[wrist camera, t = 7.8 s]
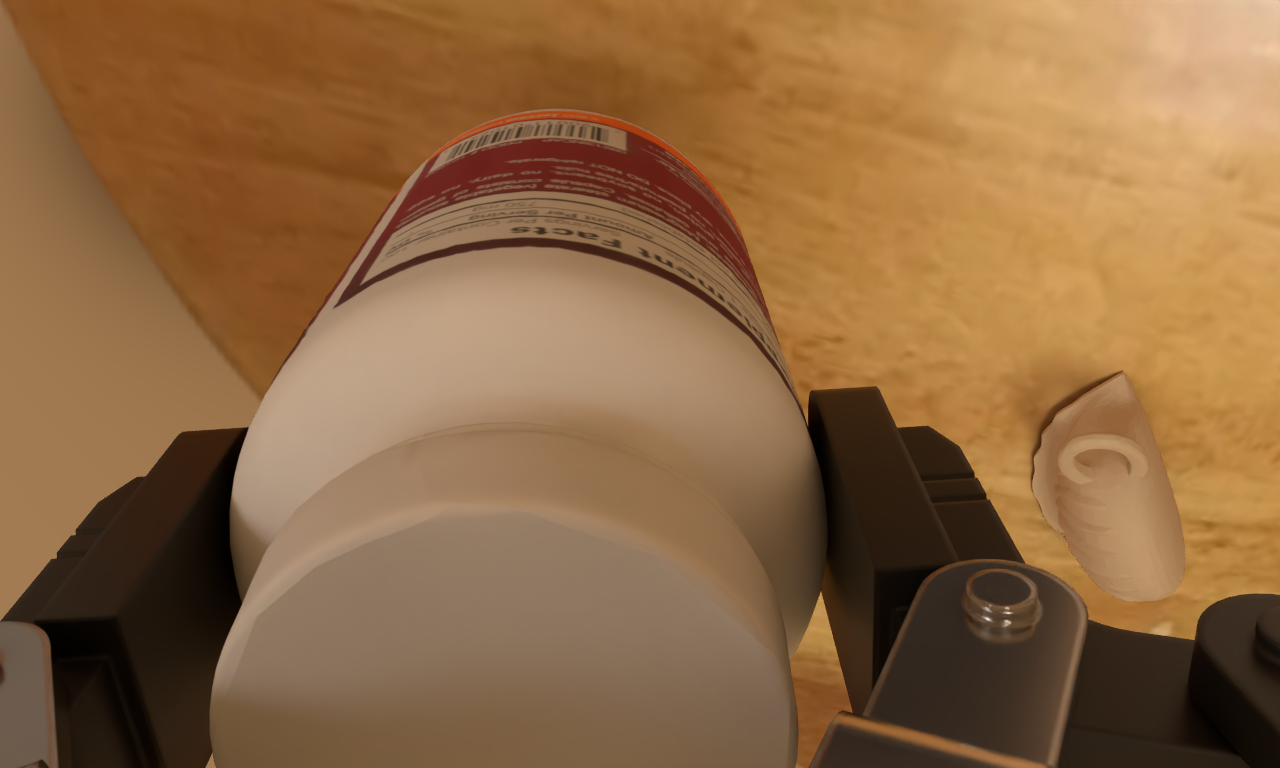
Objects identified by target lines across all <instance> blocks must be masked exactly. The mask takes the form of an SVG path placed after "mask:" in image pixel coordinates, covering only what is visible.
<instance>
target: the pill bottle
mask: <svg viewBox="0 0 1280 768" xmlns="http://www.w3.org/2000/svg"><path fill="white" fill-rule="evenodd" d="M827 546H828V522H827V510H826V498H825V492H824V486H823V480H822V474H821V469H820V466H819V463H818V460H817V456H816V453H815V450H814V447H813V443H812V439H811V434H810V431H809V428H808V426H807V423H806V419H805V416H804V413H803V410H802V407H801V405H800V402H799V400H798V397H797V394H796V391H795V388H794V385H793V381H792V378H791V376H790V373H789V369H788V365H787V363H786V361H785V358H784V356H783V353H782V351H781V348H780V345H779V342H778V339H777V336H776V333H775V330H774V328H773V325H772V322H771V319H770V315H769V312H768V309H767V307H766V304H765V301H764V297H763V295H762V292H761V289H760V286H759V283H758V280H757V277H756V275H755V272H754V269H753V265H752V263H751V260H750V257H749V254H748V251H747V248H746V245H745V242H744V239H743V236H742V234H741V231H740V229H739V227H738V225H737V223H736V221H735V219H734V217H733V215H732V213H731V211H730V209H729V208H728V206H727V205H726V204H725V202H724V200H723V199H722V197H721V196H720V194H719V192H718V191H717V190H716V188H715V187H714V186H713V185H712V183H711V182H710V181H709V179H708V178H707V177H706V176H705V175H704V174H703V173H702V172H701V170H700V169H699V168H698V167H697V166H696V165H695V164H694V163H693V162H692V161H691V160H689V159H688V158H687V157H686V156H685V155H684V154H683V153H681V152H680V151H679V150H677V149H676V148H675V147H673V146H672V145H671V144H669V143H668V142H667V141H665V140H663V139H662V138H660V137H658V136H657V135H655V134H653V133H651V132H650V131H648V130H646V129H643V128H641V127H639V126H637V125H634V124H632V123H629V122H627V121H624V120H621V119H618V118H615V117H611V116H607V115H603V114H600V113H594V112H589V111H583V110H574V109H541V110H531V111H526V112H520V113H515V114H511V115H506V116H502V117H499V118H496V119H493V120H490V121H487V122H485V123H483V124H481V125H479V126H476V127H474V128H472V129H470V130H468V131H466V132H464V133H463V134H461V135H459V136H458V137H456V138H454V139H453V140H451V141H449V142H448V143H447V144H445V145H444V146H443V147H441V148H440V149H439V150H438V151H436V152H435V153H434V154H433V155H432V156H431V157H429V158H428V159H427V160H426V161H425V162H424V163H423V164H422V165H421V166H420V167H419V168H418V169H417V170H416V171H415V172H414V173H413V174H412V175H411V177H410V178H409V179H408V180H407V181H406V182H405V184H404V185H403V186H402V187H401V188H400V189H399V190H398V192H397V193H396V195H395V196H394V197H393V199H392V200H391V202H390V203H389V205H388V206H387V208H386V210H385V211H384V212H383V214H382V215H381V217H380V218H379V219H378V221H377V223H376V224H375V226H374V228H373V229H372V231H371V232H370V234H369V235H368V237H367V238H366V240H365V241H364V243H363V244H362V246H361V247H360V249H359V250H358V252H357V253H356V255H355V256H354V258H353V259H352V261H351V262H350V264H349V266H348V267H347V269H346V270H345V272H344V273H343V275H342V276H341V278H340V279H339V281H338V282H337V284H336V285H335V287H334V288H333V290H332V291H331V292H330V293H329V294H328V295H327V296H326V299H325V301H324V303H323V305H322V306H321V308H320V309H319V310H318V312H317V314H316V315H315V316H314V318H313V319H312V320H311V321H310V323H309V325H308V327H307V328H306V329H305V330H304V331H303V333H302V335H301V337H300V338H299V340H298V342H297V344H296V345H295V347H294V348H293V349H292V351H291V352H290V354H289V355H288V357H287V358H286V359H285V361H284V362H283V364H282V366H281V367H280V369H279V371H278V372H277V374H276V376H275V378H274V380H273V382H272V384H271V385H270V387H269V389H268V391H267V393H266V394H265V396H264V398H263V400H262V402H261V404H260V406H259V409H258V410H257V412H256V415H255V416H254V419H253V421H252V423H251V425H250V427H249V429H248V432H247V435H246V438H245V441H244V443H243V446H242V449H241V452H240V455H239V459H238V463H237V467H236V471H235V475H234V481H233V488H232V496H231V503H230V549H231V555H232V561H233V567H234V574H235V578H236V583H237V588H238V591H239V595H240V599H241V601H242V606H241V608H240V610H239V612H238V615H237V617H236V619H235V621H234V623H233V626H232V628H231V630H230V632H229V634H228V637H227V639H226V641H225V644H224V647H223V649H222V652H221V655H220V658H219V661H218V664H217V667H216V671H215V676H214V681H213V686H212V694H211V703H210V738H211V745H212V751H213V758H214V762H215V765H216V768H795V765H796V760H797V749H798V717H797V706H796V700H795V694H794V688H793V682H792V676H791V669H790V659H791V658H792V656H793V655H794V653H795V651H796V649H797V648H798V646H799V644H800V642H801V640H802V638H803V636H804V634H805V632H806V630H807V628H808V625H809V622H810V619H811V617H812V614H813V611H814V608H815V606H816V603H817V600H818V597H819V595H820V591H821V586H822V582H823V577H824V572H825V563H826V552H827Z"/></svg>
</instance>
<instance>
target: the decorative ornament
mask: <svg viewBox="0 0 1280 768" xmlns="http://www.w3.org/2000/svg"><path fill="white" fill-rule="evenodd" d="M1034 467H1035V472H1034V476H1033V481H1032V489H1033V493H1034V495H1035V497H1036V498H1037V500H1038V502H1039V503H1040V506H1041V509H1042V512H1043V515H1044V517H1045V519H1046V521H1047V522H1048V523H1049V524H1050V525H1051V526H1052V527H1053V529H1054V530H1056V531H1058V532H1060V533H1062V534H1064V535H1065V538H1066V541H1067V544H1068V547H1069V549H1070V551H1071V553H1072V554H1073V556H1074V557H1075V558H1076V559H1077V560H1078V562H1079V563H1080V565H1081V566H1082V568H1083V569H1084V571H1085V572H1086V573H1087V574H1088V576H1089V577H1090V579H1091V580H1092V581H1093V582H1094V583H1095V584H1096V585H1097V586H1098V587H1100V588H1101V589H1102V590H1104V591H1105V592H1107V593H1109V594H1111V595H1113V596H1114V597H1116V598H1118V599H1120V600H1123V601H1127V602H1138V601H1141V602H1146V601H1157V600H1161V599H1164V598H1166V597H1168V596H1170V595H1171V594H1172V593H1173V592H1174V591H1175V590H1176V589H1177V588H1178V586H1179V585H1180V583H1181V581H1182V578H1183V574H1184V570H1185V546H1184V537H1183V531H1182V526H1181V521H1180V517H1179V513H1178V509H1177V505H1176V502H1175V498H1174V495H1173V492H1172V489H1171V485H1170V482H1169V479H1168V476H1167V472H1166V469H1165V466H1164V463H1163V460H1162V457H1161V454H1160V451H1159V448H1158V445H1157V442H1156V440H1155V437H1154V434H1153V431H1152V429H1151V426H1150V423H1149V421H1148V419H1147V417H1146V415H1145V412H1144V410H1143V408H1142V406H1141V404H1140V401H1139V399H1138V397H1137V394H1136V392H1135V390H1134V387H1133V385H1132V383H1131V381H1130V379H1129V378H1128V377H1127V375H1126V374H1125V372H1124V371H1122V372H1121V373H1119V374H1117V375H1115V376H1114V377H1112V378H1110V379H1109V380H1107V381H1105V382H1104V383H1102V384H1100V385H1099V386H1097V387H1095V388H1094V389H1092V390H1090V391H1089V392H1087V393H1085V394H1084V395H1082V396H1081V397H1080V398H1078V399H1077V400H1076V401H1075V402H1073V403H1071V404H1070V405H1068V406H1066V407H1065V408H1063V409H1062V410H1060V411H1059V412H1058V413H1057V414H1055V417H1054V419H1053V421H1052V423H1051V424H1050V425H1049V426H1048V427H1047V428H1046V429H1045V430H1044V431H1043V433H1042V439H1041V447H1040V448H1039V450H1038V451H1037V452H1036V454H1035V456H1034Z"/></svg>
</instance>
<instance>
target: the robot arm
mask: <svg viewBox="0 0 1280 768" xmlns="http://www.w3.org/2000/svg"><path fill="white" fill-rule="evenodd" d="M808 428H809V431H810V434H811V439H812V443H813V447H814V450H815V453H816V456H817V460H818V463H819V466H820V469H821V474H822V480H823V486H824V492H825V498H826V510H827V522H828V546H827V552H826V563H825V572H824V577H823V582H822V586H821V592H822V596H823V600H824V604H825V607H826V611H827V615H828V619H829V623H830V627H831V630H832V634H833V638H834V642H835V646H836V649H837V653H838V657H839V661H840V665H841V669H842V672H843V676H844V680H845V684H846V688H847V691H848V695H849V699H850V703H851V707H852V711H853V713H850V712H847V711H843V710H842V711H840V712H838V713H837V714H836V715H835V717H834V718H833V720H832V721H831V723H830V725H829V726H828V728H827V730H826V732H825V734H824V737H823V739H822V741H821V743H820V745H819V747H818V749H817V751H816V753H815V755H814V758H813V760H812V762H811V764H810V766H809V768H1280V595H1275V594H1246V595H1238V596H1233V597H1228V598H1226V599H1223V600H1220V601H1217V602H1216V603H1214V604H1212V605H1211V606H1209V607H1208V608H1207V609H1206V610H1205V611H1204V612H1203V613H1202V614H1201V616H1200V618H1199V620H1198V624H1197V630H1196V636H1195V640H1189V639H1182V638H1175V637H1168V636H1161V635H1154V634H1147V633H1140V632H1134V631H1128V630H1123V629H1117V628H1114V627H1110V626H1106V625H1103V624H1100V623H1097V622H1094V621H1091V620H1089V619H1088V611H1087V607H1086V605H1085V603H1084V601H1083V599H1082V598H1081V596H1080V595H1079V594H1078V593H1077V592H1076V591H1075V589H1073V588H1072V587H1071V586H1070V585H1069V584H1067V583H1066V582H1065V581H1063V580H1061V579H1060V578H1058V577H1057V576H1055V575H1053V574H1051V573H1049V572H1047V571H1044V570H1042V569H1039V568H1036V567H1034V566H1031V565H1027V564H1025V562H1024V560H1023V558H1022V557H1021V555H1020V553H1019V551H1018V550H1017V548H1016V546H1015V544H1014V542H1013V541H1012V539H1011V537H1010V535H1009V534H1008V532H1007V530H1006V528H1005V526H1004V525H1003V523H1002V521H1001V519H1000V518H999V516H998V514H997V512H996V510H995V509H994V507H993V505H992V503H991V502H990V500H987V498H986V493H985V491H984V489H983V487H982V486H981V484H980V482H979V480H978V478H975V476H974V471H973V470H972V468H971V466H970V464H969V462H968V461H967V459H966V457H965V455H964V454H963V452H962V450H961V448H960V447H959V446H958V445H956V444H955V443H953V442H952V441H950V440H949V439H947V438H946V437H944V436H943V435H941V434H940V433H938V432H937V431H935V430H934V429H932V428H931V427H929V426H917V427H902V428H897V427H896V425H895V422H894V420H893V418H892V416H891V414H890V412H889V410H888V408H887V405H886V403H885V401H884V399H883V397H882V395H881V393H880V391H879V389H878V387H876V386H873V387H858V388H843V389H828V390H813V391H811V392H810V395H809V404H808ZM248 429H249V427H247V428H232V429H217V430H202V431H187V432H182V433H180V434H179V435H178V436H177V437H176V439H175V440H174V441H173V442H172V444H171V445H170V446H169V448H168V449H167V450H166V451H165V453H164V454H163V455H162V456H161V458H160V459H159V460H158V462H157V463H156V464H155V465H154V467H153V468H152V469H151V471H150V472H149V473H148V474H147V476H145V477H136V478H135V479H133V480H131V481H130V482H128V483H127V484H125V485H124V486H123V487H121V488H119V489H118V490H116V491H115V492H113V493H112V494H110V495H109V496H107V497H106V498H104V499H103V500H101V501H100V502H98V503H97V505H96V506H95V507H94V508H93V509H92V511H91V512H90V513H89V514H88V516H87V517H86V518H85V519H84V521H83V522H82V523H81V524H80V525H79V526H78V528H77V529H76V535H74V536H70V538H69V539H68V540H67V541H66V542H65V544H64V545H63V546H62V547H61V548H60V550H59V551H58V552H57V559H51V560H50V562H49V563H48V564H47V565H46V567H45V568H44V569H43V570H42V571H41V573H40V574H39V575H38V576H37V577H36V579H35V580H34V581H33V582H32V584H31V585H30V586H29V587H28V589H27V590H26V591H25V592H24V593H23V594H22V596H21V597H20V598H19V599H18V601H17V602H16V603H15V604H14V605H13V607H12V608H11V609H10V610H9V612H8V613H7V614H6V615H5V616H4V618H3V619H2V620H1V621H0V768H205V767H206V765H207V763H208V761H209V759H210V756H211V754H212V752H213V751H212V745H211V738H210V703H211V694H212V686H213V681H214V676H215V671H216V667H217V664H218V661H219V658H220V655H221V652H222V649H223V647H224V644H225V641H226V639H227V637H228V634H229V632H230V630H231V628H232V626H233V623H234V621H235V619H236V617H237V615H238V612H239V610H240V608H241V606H242V601H241V599H240V595H239V591H238V588H237V583H236V578H235V574H234V567H233V561H232V555H231V549H230V503H231V496H232V488H233V481H234V475H235V471H236V467H237V463H238V459H239V455H240V452H241V449H242V446H243V443H244V441H245V438H246V435H247V432H248Z"/></svg>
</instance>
